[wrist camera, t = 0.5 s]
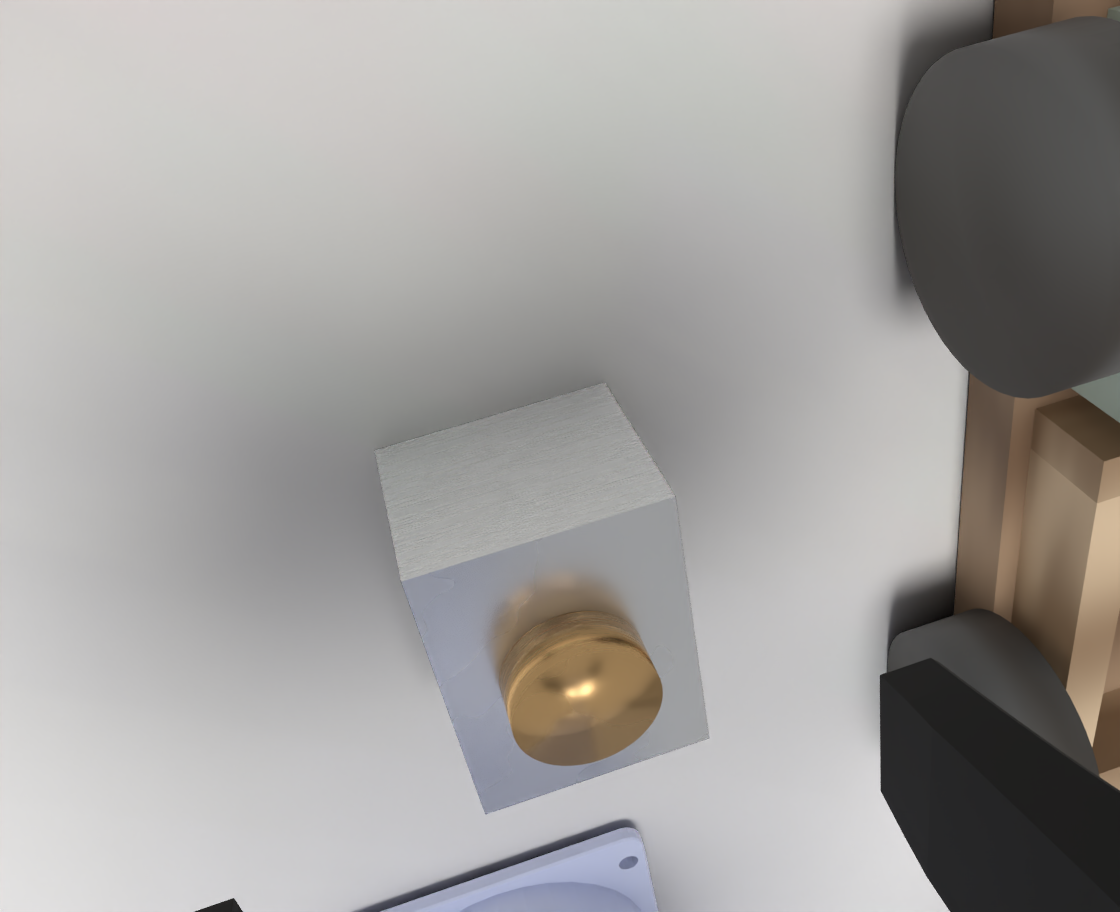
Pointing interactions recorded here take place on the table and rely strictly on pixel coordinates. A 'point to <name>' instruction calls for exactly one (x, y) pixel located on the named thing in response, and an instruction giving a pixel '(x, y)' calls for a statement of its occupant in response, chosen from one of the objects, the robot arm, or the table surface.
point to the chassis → (1028, 359)
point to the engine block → (547, 592)
